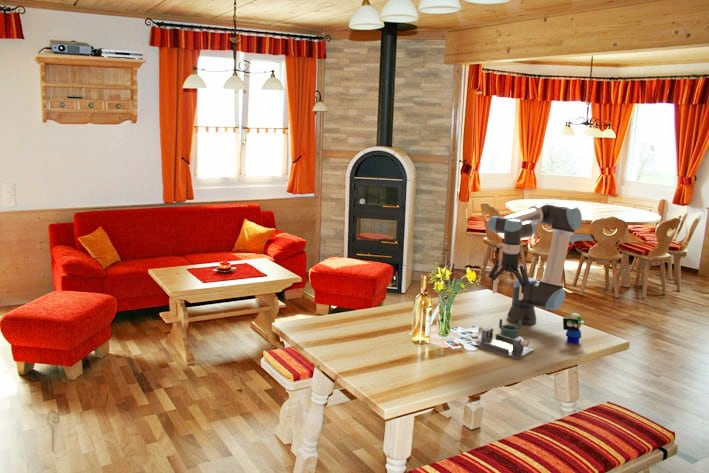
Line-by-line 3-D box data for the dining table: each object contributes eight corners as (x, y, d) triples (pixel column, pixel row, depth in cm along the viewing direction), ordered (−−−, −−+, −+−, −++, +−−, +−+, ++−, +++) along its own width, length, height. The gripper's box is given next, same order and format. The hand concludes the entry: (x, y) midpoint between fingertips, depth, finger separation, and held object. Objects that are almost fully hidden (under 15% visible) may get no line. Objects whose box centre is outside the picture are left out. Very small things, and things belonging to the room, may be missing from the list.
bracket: (521, 338, 307) (523, 321, 305) (508, 341, 302) (509, 323, 300) (508, 332, 314) (510, 316, 313) (495, 335, 310) (496, 318, 308)
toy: (559, 342, 304) (562, 313, 301) (567, 337, 311) (570, 309, 308) (576, 347, 298) (580, 317, 295) (584, 342, 305) (588, 313, 302)
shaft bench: (486, 336, 307) (488, 323, 306) (533, 351, 291) (535, 337, 289) (470, 344, 296) (471, 330, 295) (518, 359, 280) (519, 345, 278)
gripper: (483, 248, 294) (480, 291, 298) (532, 258, 277) (528, 304, 282) (491, 246, 299) (488, 288, 304) (539, 256, 283) (535, 300, 288)
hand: (507, 296), depth 293 cm, fingers open, 13 cm apart
